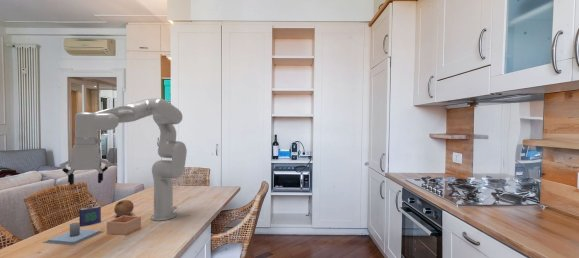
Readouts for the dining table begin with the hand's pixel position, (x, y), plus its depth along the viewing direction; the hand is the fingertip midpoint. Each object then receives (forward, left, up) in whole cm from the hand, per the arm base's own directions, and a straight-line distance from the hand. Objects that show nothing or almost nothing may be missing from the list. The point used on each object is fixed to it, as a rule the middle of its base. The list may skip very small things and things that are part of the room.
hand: (85, 183), depth 117 cm
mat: (-8, -14, -27) cm, 31 cm away
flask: (-24, -22, -27) cm, 42 cm away
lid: (-8, -14, -26) cm, 31 cm away
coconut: (-41, -17, -27) cm, 52 cm away
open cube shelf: (-19, +2, -27) cm, 33 cm away
